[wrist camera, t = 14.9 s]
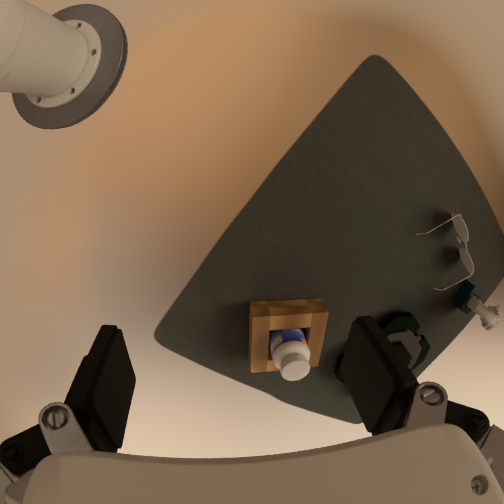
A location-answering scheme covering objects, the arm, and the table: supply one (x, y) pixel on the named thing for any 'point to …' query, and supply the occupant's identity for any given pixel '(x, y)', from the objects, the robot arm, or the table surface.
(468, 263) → the sunglasses
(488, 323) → the watch
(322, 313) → the socket
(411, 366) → the dark green landmine
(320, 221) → the table surface
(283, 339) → the pill bottle
